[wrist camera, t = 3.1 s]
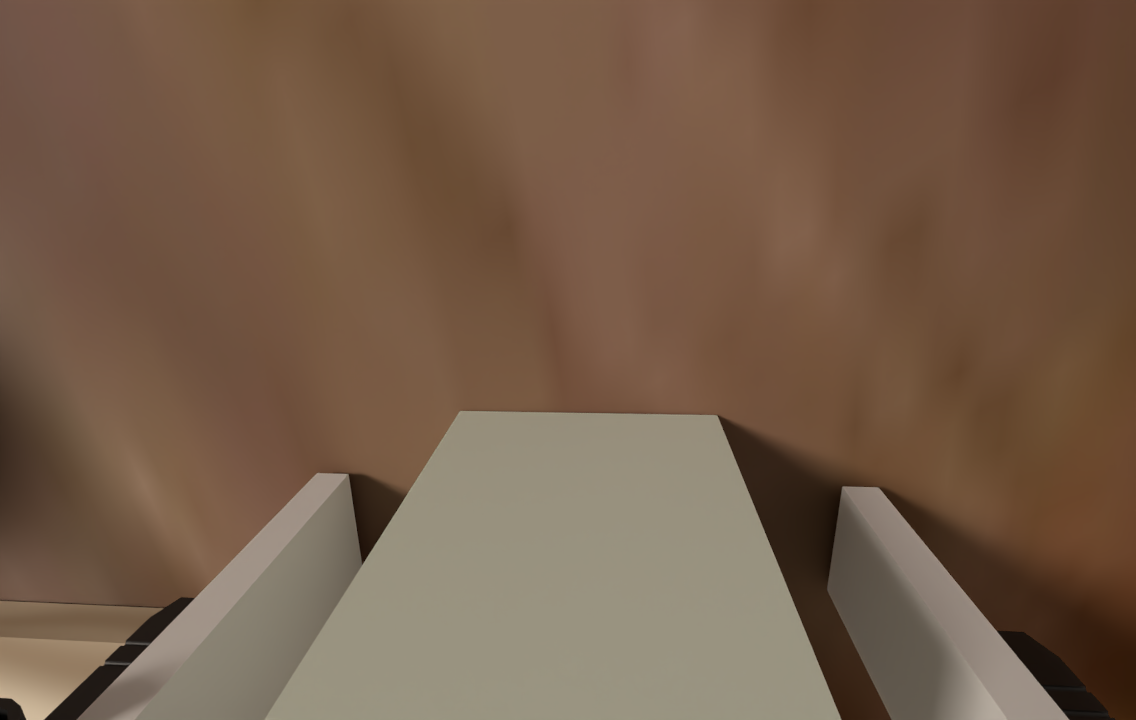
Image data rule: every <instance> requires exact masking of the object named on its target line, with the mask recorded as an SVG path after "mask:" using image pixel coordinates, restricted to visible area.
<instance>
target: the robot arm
mask: <svg viewBox="0 0 1136 720" xmlns="http://www.w3.org/2000/svg"><path fill="white" fill-rule="evenodd" d="M361 566H362V560H361V554H360V547H359V540H358V534H357V527H356V521H355V514H354V507H353V501H352V494H351V487H350V481H349V474H329V473H317V474H316V475H315V476H314V477H313V478H312V479H311V480H310V481H309V482H308V483H307V484H306V485H305V486H304V487H303V488H302V489H301V490H300V491H299V492H298V493H297V494H296V495H295V496H294V497H293V498H292V499H291V500H290V501H289V502H288V504H287V505H286V506H285V507H284V508H283V509H282V510H281V511H280V512H279V513H278V514H277V515H276V516H275V517H274V518H273V519H272V520H271V521H270V522H269V523H268V524H267V525H266V526H265V527H264V528H263V529H262V530H261V531H260V532H259V533H258V534H257V535H256V536H255V537H254V538H253V539H252V540H251V541H250V542H249V543H248V544H247V546H246V547H245V548H244V549H243V550H242V551H241V552H240V553H239V554H238V555H237V556H236V557H235V558H234V559H233V560H232V561H231V562H230V563H229V564H228V565H227V566H226V567H225V568H224V569H223V570H222V571H221V572H220V573H219V574H218V575H217V576H216V577H215V578H214V579H213V580H212V581H211V582H210V583H209V584H208V585H207V586H206V588H205V589H204V590H203V591H202V592H201V593H200V594H199V595H198V596H197V597H196V598H182V597H181V598H180V599H178V600H176V601H175V602H173V603H172V604H170V605H169V606H167V607H165V608H164V609H162V610H161V611H159V612H157V613H156V614H154V615H153V616H151V617H150V618H149V619H148V620H147V621H146V622H144V623H143V624H142V625H141V626H140V627H139V628H138V629H137V630H136V631H135V632H134V633H133V634H132V635H131V636H130V637H129V638H128V639H127V640H126V643H125V645H124V646H120V647H119V648H118V649H117V650H116V651H114V652H113V653H112V654H111V655H110V656H109V657H108V658H107V659H106V660H105V664H104V665H103V666H99V667H98V668H97V669H96V670H95V671H94V672H93V673H92V674H91V675H90V676H89V677H88V678H87V679H86V680H84V681H83V682H82V683H81V684H80V685H79V686H78V687H77V688H76V689H75V690H74V691H73V692H72V693H71V694H70V695H69V696H68V697H67V698H66V699H65V700H64V701H63V702H62V703H61V704H60V705H59V706H58V707H57V708H55V709H54V710H53V711H52V712H51V713H50V714H49V715H48V716H47V717H46V718H45V719H44V720H265V718H266V716H267V715H268V713H269V711H270V710H271V708H272V707H273V705H274V704H275V702H276V700H277V699H278V697H279V696H280V694H281V693H282V691H283V689H284V688H285V686H286V685H287V683H288V682H289V680H290V678H291V677H292V675H293V674H294V672H295V670H296V669H297V667H298V666H299V664H300V663H301V661H302V659H303V658H304V656H305V655H306V653H307V652H308V650H309V648H310V647H311V645H312V644H313V642H314V641H315V639H316V637H317V636H318V634H319V633H320V631H321V630H322V628H323V626H324V625H325V623H326V622H327V620H328V618H329V617H330V615H331V614H332V612H333V611H334V609H335V607H336V606H337V604H338V603H339V601H340V600H341V598H342V596H343V595H344V593H345V592H346V590H347V589H348V587H349V585H350V584H351V582H352V581H353V579H354V577H355V576H356V574H357V573H358V571H359V570H360V568H361ZM827 591H828V593H829V595H830V597H831V599H832V601H833V603H834V605H835V607H836V609H837V611H838V613H839V615H840V617H841V619H842V621H843V623H844V625H845V627H846V629H847V631H848V633H849V635H850V637H851V639H852V641H853V643H854V646H855V648H856V650H857V652H858V654H859V656H860V658H861V660H862V662H863V664H864V666H865V668H866V670H867V672H868V674H869V676H870V678H871V680H872V682H873V684H874V686H875V688H876V690H877V692H878V694H879V696H880V698H881V700H882V702H883V704H884V706H885V708H886V710H887V712H888V714H889V716H890V718H891V720H1115V719H1114V718H1110V717H1109V715H1108V711H1107V710H1106V709H1105V708H1104V707H1103V705H1102V704H1101V703H1100V702H1099V701H1098V700H1097V699H1096V698H1095V697H1094V695H1093V694H1092V693H1087V691H1086V687H1085V686H1084V684H1083V683H1082V682H1081V681H1080V680H1079V679H1078V678H1077V677H1076V676H1075V674H1074V673H1073V672H1072V671H1071V670H1070V669H1069V668H1068V667H1067V666H1066V665H1065V663H1064V662H1063V661H1062V660H1061V659H1060V658H1059V657H1058V656H1056V655H1055V654H1054V653H1052V652H1051V651H1049V650H1048V649H1047V648H1045V647H1044V646H1042V645H1041V644H1040V643H1038V642H1037V641H1035V640H1034V639H1033V638H1031V637H1030V636H1028V635H1027V634H1026V633H1024V632H1010V631H996V630H995V629H994V627H993V626H992V625H991V624H990V623H989V621H988V620H987V619H986V618H985V616H984V615H983V614H982V613H981V612H980V610H979V609H978V608H977V607H976V605H975V604H974V603H973V602H972V601H971V599H970V598H969V597H968V596H967V595H966V593H965V592H964V591H963V590H962V588H961V587H960V586H959V585H958V584H957V582H956V581H955V580H954V579H953V577H952V576H951V575H950V574H949V573H948V571H947V570H946V569H945V568H944V566H943V565H942V564H941V563H940V562H939V560H938V559H937V558H936V557H935V556H934V554H933V553H932V552H931V551H930V549H929V548H928V547H927V546H926V545H925V543H924V542H923V541H922V540H921V538H920V537H919V536H918V535H917V534H916V532H915V531H914V530H913V529H912V528H911V526H910V525H909V524H908V523H907V521H906V520H905V519H904V518H903V517H902V515H901V514H900V513H899V512H898V510H897V509H896V508H895V507H894V506H893V504H892V503H891V502H890V501H889V499H888V498H887V497H886V496H885V495H884V493H883V492H882V491H881V490H880V489H879V487H844V486H842V492H841V499H840V506H839V512H838V519H837V526H836V532H835V539H834V546H833V553H832V559H831V566H830V573H829V580H828V586H827ZM0 720H26V718H25V715H24V713H23V710H22V708H21V706H20V705H19V704H18V703H16V702H15V701H14V700H13V699H10V698H0Z"/></svg>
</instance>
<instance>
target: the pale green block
mask: <svg viewBox="0 0 1136 720" xmlns="http://www.w3.org/2000/svg"><path fill="white" fill-rule="evenodd" d="M265 720H841V718H840V715H839V713H838V710H837V708H836V705H835V703H834V700H833V698H832V695H831V693H830V691H829V688H828V686H827V683H826V681H825V678H824V676H823V673H822V671H821V669H820V666H819V664H818V661H817V659H816V656H815V654H814V651H813V649H812V646H811V644H810V642H809V639H808V637H807V634H806V632H805V629H804V627H803V624H802V622H801V619H800V617H799V615H798V612H797V610H796V607H795V605H794V602H793V600H792V597H791V595H790V593H789V590H788V588H787V585H786V583H785V580H784V578H783V575H782V573H781V570H780V568H779V566H778V563H777V561H776V558H775V556H774V553H773V551H772V548H771V546H770V544H769V541H768V539H767V536H766V534H765V531H764V529H763V526H762V524H761V521H760V519H759V517H758V514H757V512H756V509H755V507H754V504H753V502H752V499H751V497H750V494H749V492H748V490H747V487H746V485H745V482H744V480H743V477H742V475H741V472H740V470H739V468H738V465H737V463H736V460H735V458H734V455H733V453H732V450H731V448H730V445H729V443H728V441H727V438H726V436H725V433H724V431H723V428H722V426H721V423H720V421H719V418H718V416H717V415H672V414H612V413H552V412H492V411H460V412H459V414H458V415H457V417H456V418H455V420H454V421H453V423H452V425H451V426H450V428H449V429H448V431H447V432H446V434H445V436H444V437H443V439H442V440H441V442H440V443H439V445H438V447H437V448H436V450H435V451H434V453H433V455H432V456H431V458H430V459H429V461H428V462H427V464H426V466H425V467H424V469H423V470H422V472H421V473H420V475H419V477H418V478H417V480H416V481H415V483H414V484H413V486H412V488H411V489H410V491H409V492H408V494H407V496H406V497H405V499H404V500H403V502H402V503H401V505H400V507H399V508H398V510H397V511H396V513H395V514H394V516H393V518H392V519H391V521H390V522H389V524H388V525H387V527H386V529H385V530H384V532H383V533H382V535H381V536H380V538H379V540H378V541H377V543H376V544H375V546H374V548H373V549H372V551H371V552H370V554H369V555H368V557H367V559H366V560H365V562H364V563H363V565H362V566H361V568H360V570H359V571H358V573H357V574H356V576H355V577H354V579H353V581H352V582H351V584H350V585H349V587H348V589H347V590H346V592H345V593H344V595H343V596H342V598H341V600H340V601H339V603H338V604H337V606H336V607H335V609H334V611H333V612H332V614H331V615H330V617H329V618H328V620H327V622H326V623H325V625H324V626H323V628H322V630H321V631H320V633H319V634H318V636H317V637H316V639H315V641H314V642H313V644H312V645H311V647H310V648H309V650H308V652H307V653H306V655H305V656H304V658H303V659H302V661H301V663H300V664H299V666H298V667H297V669H296V670H295V672H294V674H293V675H292V677H291V678H290V680H289V682H288V683H287V685H286V686H285V688H284V689H283V691H282V693H281V694H280V696H279V697H278V699H277V700H276V702H275V704H274V705H273V707H272V708H271V710H270V711H269V713H268V715H267V716H266V718H265Z"/></svg>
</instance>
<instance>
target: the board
mask: <svg viewBox="0 0 1136 720" xmlns="http://www.w3.org/2000/svg"><path fill="white" fill-rule="evenodd" d="M162 609H164V608H148V607H126V606H104V605H82V604H60V603H38V602H16V601H0V698H10V699H13V700H14V701H15V702H16V703H18V704H19V705H20V706H21V708H22V710H23V713H24V715H25V718H26V720H44V719H45V718H46V717H47V716H48V715H49V714H50V713H51V712H52V711H53V710H54V709H55V708H57V707H58V706H59V705H60V704H61V703H62V702H63V701H64V700H65V699H66V698H67V697H68V696H69V695H70V694H71V693H72V692H73V691H74V690H75V689H76V688H77V687H78V686H79V685H80V684H81V683H82V682H83V681H84V680H86V679H87V678H88V677H89V676H90V675H91V674H92V673H93V672H94V671H95V670H96V669H97V668H98V667H99V666H103V665H104V664H105V660H106V659H107V658H108V657H109V656H110V655H111V654H112V653H113V652H114V651H116V650H117V649H118V648H119V647H120V646H124V645H125V643H126V640H127V639H128V638H129V637H130V636H131V635H132V634H133V633H134V632H135V631H136V630H137V629H138V628H139V627H140V626H141V625H142V624H143V623H144V622H146V621H147V620H148V619H149V618H150V617H151V616H153V615H154V614H156V613H157V612H159V611H161V610H162Z"/></svg>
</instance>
